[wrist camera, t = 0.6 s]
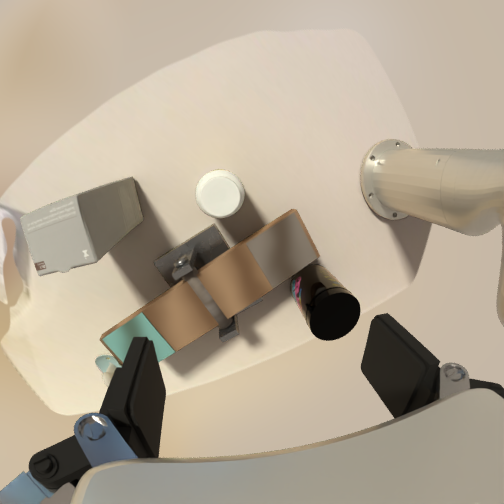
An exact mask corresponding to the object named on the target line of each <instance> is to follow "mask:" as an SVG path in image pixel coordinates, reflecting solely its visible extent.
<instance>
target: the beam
mask: <svg viewBox="0 0 504 504" xmlns="http://www.w3.org/2000/svg"><path fill="white" fill-rule="evenodd" d="M318 257H320V255H319V253H318V251H317V249H316V247H315V245H314V243H313V241H312V239H311V237H310V235H309V233H308V231H307V229H306V227H305V225H304V223H303V221H302V219H301V217H300V215H299V213H298V212H297V210H295V209H291V210H289V211H288V212H286V213H285V214H283V215H282V216H280V217H278V218H277V219H275V220H274V221H272V222H271V223H269V224H268V225H266V226H264V227H263V228H261V229H260V230H258V231H257V232H255V233H254V234H252V235H250V236H249V237H247V238H246V239H244V240H243V241H241V242H240V243H238V244H237V245H235V246H234V247H232V248H230V249H229V250H227V251H226V252H224V253H223V254H221V255H220V256H218V257H217V258H215V259H214V260H212V261H211V262H209V263H208V264H206V265H205V266H203V267H202V268H200V269H199V270H197V269H196V268H195V266H194V267H193V270H192V271H190V272H189V273H187V274H185V275H184V276H182V278H183V280H182V281H180V282H179V283H177V284H176V285H174V286H173V287H171V288H170V289H168V290H167V291H165V292H164V293H162V294H161V295H159V296H158V297H156V298H155V299H154V300H152V301H151V302H149V303H148V304H146V305H145V306H143V307H142V308H140V309H139V310H137V311H136V312H134V313H133V314H131V315H130V316H128V317H127V318H125V319H124V320H122V321H121V322H120V323H118V324H117V325H115V326H114V327H112V328H111V329H109V330H108V331H106V332H105V333H104V334H102V336H101V338H100V341H101V342H102V343H103V345H104V346H105V347H106V348H107V349H108V350H109V351H110V352H111V353H112V355H113V356H114V357H115V358H116V359H117V360H118V361H119V362H120V363H121V364H122V365H123V362H124V359H125V357H126V354H127V352H128V349H129V347H130V344H131V342H132V339H133V337H148V339H149V340H152V341H153V343H154V347H155V351H156V355H157V359H158V362H160V361H162V360H163V359H165V358H166V357H168V356H170V355H171V354H173V353H175V352H176V351H178V350H180V349H181V348H183V347H184V346H186V345H188V344H189V343H191V342H193V341H194V340H196V339H197V338H199V337H201V336H202V335H204V334H205V333H207V332H208V331H210V330H212V329H213V328H215V327H216V326H218V327H219V328H220V329H225V328H227V327H228V326H229V325H230V324H231V323H232V319H231V317H232V316H233V315H235V314H236V313H238V312H239V311H241V310H242V309H244V308H245V307H247V306H248V305H250V304H251V303H253V302H254V301H256V300H257V299H259V298H260V297H262V296H263V295H265V294H266V293H268V292H269V291H271V290H272V289H274V288H275V287H277V286H278V285H280V284H281V283H283V282H284V281H285V280H287V279H288V278H290V277H291V276H293V275H294V274H296V273H297V272H298V271H300V270H301V269H303V268H304V267H305V266H307V265H308V264H310V263H311V262H313V261H314V260H315V259H317V258H318Z"/></svg>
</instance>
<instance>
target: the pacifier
mask: <svg viewBox="0 0 504 504" xmlns="http://www.w3.org/2000/svg"><path fill="white" fill-rule="evenodd" d="M95 363H96V365H97V367H98V369H99V370H100V371H101V372H102V373H103V374H102V380H103V382H104V384H105V385H106V386H107V387H109V384H110V382H111V379H112V376H113V374H114V371H115V369H116V368H117V367H122V366H121V365H120V364H119V363H118V361H117V360H116V358H114V357H112V356H110V355H101V356H97V357H96V358H95Z"/></svg>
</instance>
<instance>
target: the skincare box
mask: <svg viewBox="0 0 504 504" xmlns="http://www.w3.org/2000/svg"><path fill="white" fill-rule="evenodd" d="M20 220H21V224H22V228H23V231H24V234H25V238H26V241H27V244H28V247H29V250H30V253H31V256H32V259H33V262H34V264H35V267H36V270H37V273H38V275H39V276H43V275H47V274H51V273H55V272H62V273H65V272H68V271H69V270H70V269H72V268H76V267H81V266H85V265H89V264H93V263H96V262H98V261H99V260H100V259H101V258H102V257H103V256H104V255H105V254H106V253H107V252H108V251H109V250H110V249H111V248H112V247H114V246H115V245H116V244H117V243H118V242H119V241H120V240H121V239H122V238H123V237H124V236H126V235H127V234H128V233H129V232H130V231H131V230H132V229H134V228H135V227H136V226H137V225H138V224H139V223H141V222H142V221H143V215H142V212H141V208H140V204H139V200H138V196H137V192H136V187H135V183H134V179H133V177H129V178H126V179H122V180H118V181H115V182H112V183H109V184H106V185H103V186H99V187H96V188H93V189H91V190H88V191H85V192H82V193H79V194H76V195H73V196H70V197H67V198H64V199H62V200H59V201H56V202H54V203H51V204H48V205H46V206H44V207H41V208H39V209H37V210H35V211H32V212H30V213H28V214H26V215H24V216H22V217H20Z"/></svg>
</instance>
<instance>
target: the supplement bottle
mask: <svg viewBox="0 0 504 504" xmlns="http://www.w3.org/2000/svg"><path fill="white" fill-rule="evenodd" d="M195 196H196V201H197V204H198V206H199V208H200V209H201V210H202V211H203V212H204V213H205V214H207V215H208V216H211V217H214V218H226V217H229V216H231V215H233V214H235V213H236V212H237V211H238V210H239V209H240V207H241V206H242V204H243V201H244V196H245V191H244V186H243V184H242V182H241V180H240V179H239V178H238V177H237V176H236V175H235V174H233V173H232V172H230V171H227V170H222V169H217V170H213V171H211V172H209V173H207V174H205V175H204V176H203V177H202V178H201V179H200V181H199V182H198V184H197V187H196V192H195Z"/></svg>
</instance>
